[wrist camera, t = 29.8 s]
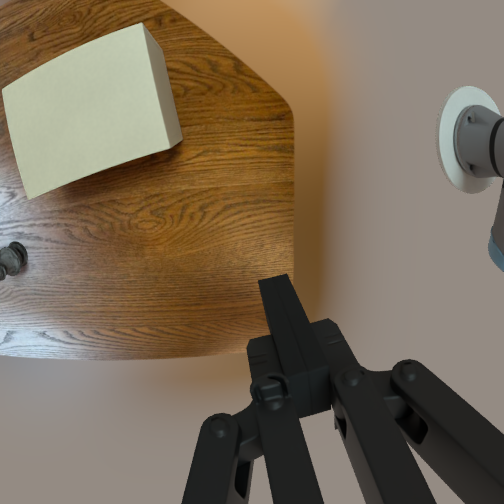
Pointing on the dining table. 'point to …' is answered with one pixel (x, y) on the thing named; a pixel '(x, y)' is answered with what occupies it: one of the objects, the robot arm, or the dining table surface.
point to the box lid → (85, 112)
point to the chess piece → (12, 259)
